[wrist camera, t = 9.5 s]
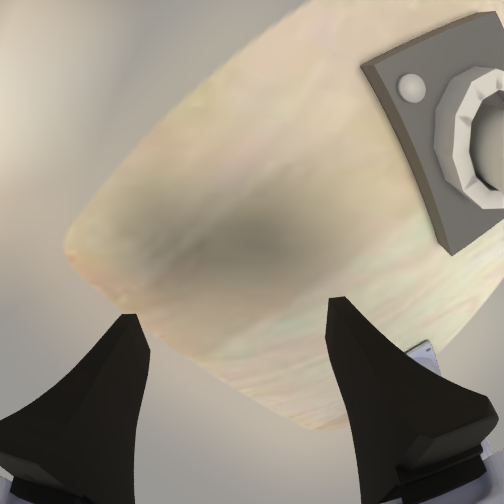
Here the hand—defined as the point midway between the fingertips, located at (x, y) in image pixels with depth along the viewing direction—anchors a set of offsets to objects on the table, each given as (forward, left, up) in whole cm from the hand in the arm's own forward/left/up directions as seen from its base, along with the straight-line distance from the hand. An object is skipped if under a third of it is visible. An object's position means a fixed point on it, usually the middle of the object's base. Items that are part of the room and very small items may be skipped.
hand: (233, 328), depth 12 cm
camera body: (-3, -17, -9) cm, 20 cm away
